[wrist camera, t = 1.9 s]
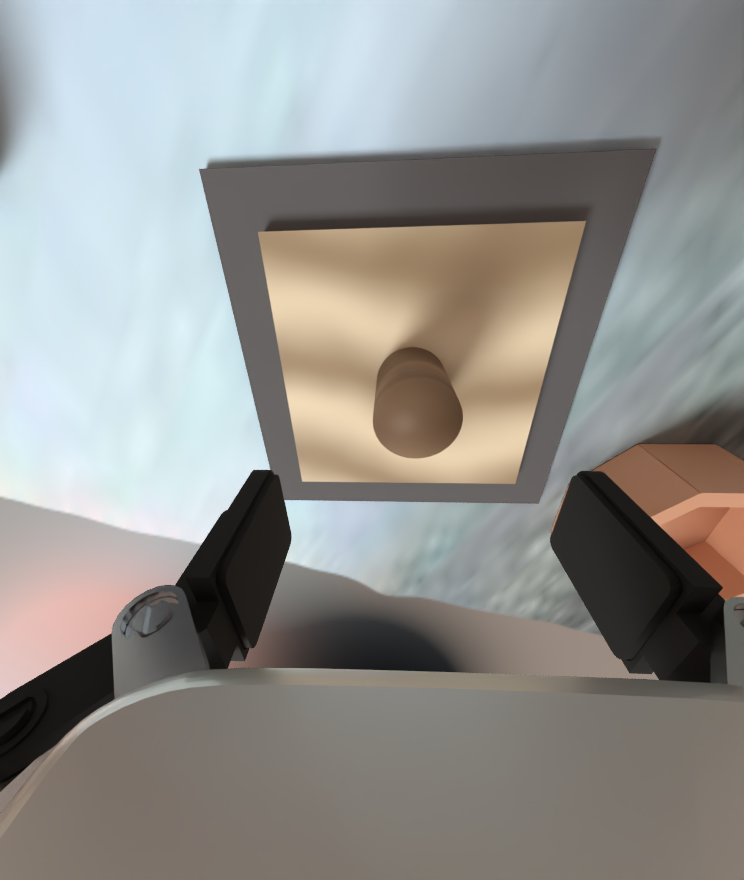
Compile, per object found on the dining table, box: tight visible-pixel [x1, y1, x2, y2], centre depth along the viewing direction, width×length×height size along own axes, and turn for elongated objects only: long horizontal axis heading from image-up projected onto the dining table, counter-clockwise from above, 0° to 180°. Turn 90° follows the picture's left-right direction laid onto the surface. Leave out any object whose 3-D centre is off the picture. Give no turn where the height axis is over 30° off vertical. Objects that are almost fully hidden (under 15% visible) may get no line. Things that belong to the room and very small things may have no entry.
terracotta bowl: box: [551, 444, 744, 601], centre depth 22 cm, size 12×12×5 cm
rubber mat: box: [199, 149, 656, 504], centre depth 19 cm, size 20×20×1 cm
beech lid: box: [258, 221, 586, 484], centre depth 17 cm, size 15×15×6 cm
